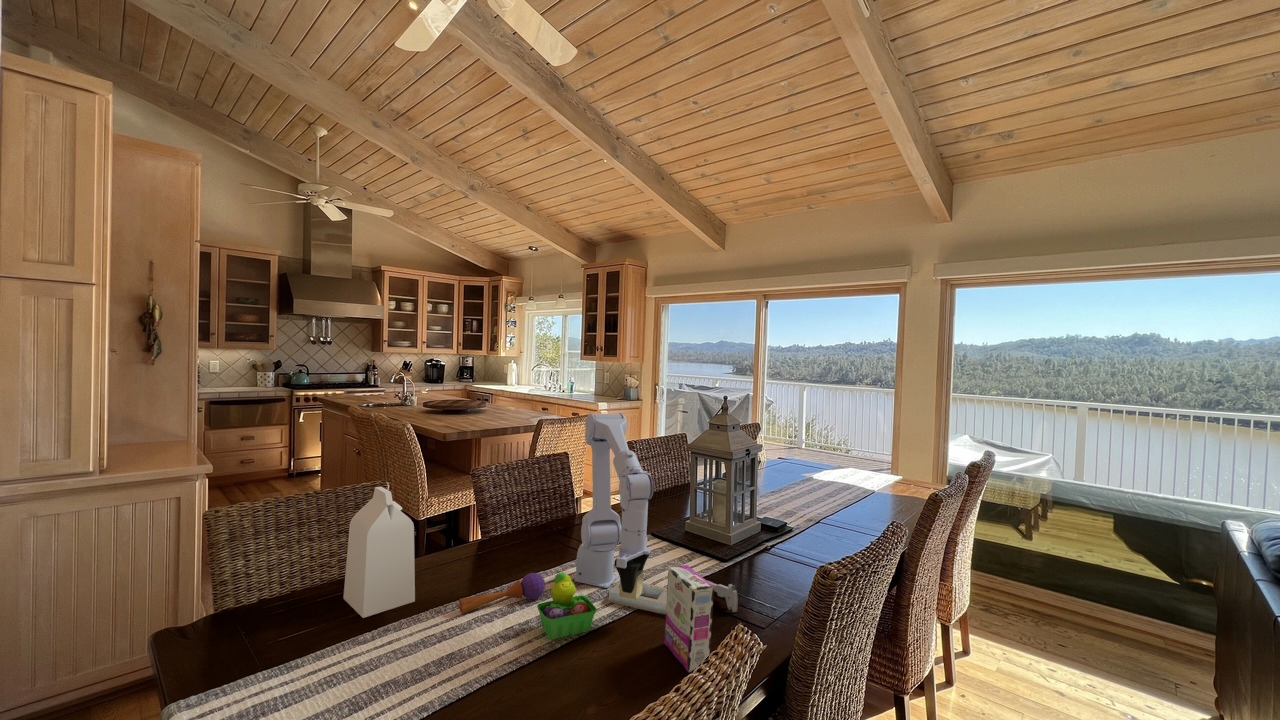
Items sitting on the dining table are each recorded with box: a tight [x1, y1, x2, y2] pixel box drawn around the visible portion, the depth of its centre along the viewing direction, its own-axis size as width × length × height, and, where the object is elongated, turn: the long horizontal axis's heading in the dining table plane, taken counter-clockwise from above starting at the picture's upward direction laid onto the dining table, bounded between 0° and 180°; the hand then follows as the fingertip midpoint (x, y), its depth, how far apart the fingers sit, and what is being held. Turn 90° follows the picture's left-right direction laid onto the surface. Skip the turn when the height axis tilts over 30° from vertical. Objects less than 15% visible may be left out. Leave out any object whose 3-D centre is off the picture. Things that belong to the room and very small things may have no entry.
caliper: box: [705, 579, 739, 613], centre depth 136 cm, size 20×1×6 cm, turn 27°
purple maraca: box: [458, 572, 546, 615], centre depth 127 cm, size 6×6×20 cm
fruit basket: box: [537, 571, 598, 640], centre depth 117 cm, size 11×9×11 cm
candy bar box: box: [664, 564, 715, 673], centre depth 109 cm, size 11×5×16 cm, turn 23°
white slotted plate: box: [608, 580, 667, 616], centre depth 130 cm, size 18×8×3 cm, turn 70°
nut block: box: [619, 569, 644, 600], centre depth 120 cm, size 4×4×5 cm
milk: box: [343, 486, 416, 619], centre depth 125 cm, size 12×12×26 cm
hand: (631, 587), depth 120 cm, fingers closed on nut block, 4 cm apart
